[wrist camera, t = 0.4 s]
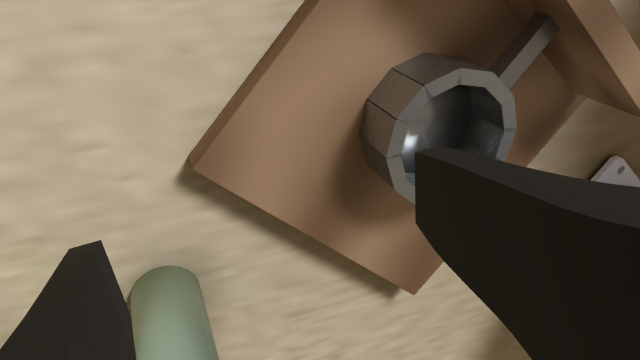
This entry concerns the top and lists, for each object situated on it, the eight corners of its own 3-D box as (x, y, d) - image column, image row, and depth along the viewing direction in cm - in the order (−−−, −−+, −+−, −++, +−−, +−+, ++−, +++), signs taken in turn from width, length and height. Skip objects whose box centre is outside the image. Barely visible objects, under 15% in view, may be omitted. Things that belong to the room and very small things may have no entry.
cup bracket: (579, 77, 26) (674, 109, 22) (402, 281, 28) (458, 349, 24) (415, -147, 18) (510, -164, 14) (187, 157, 20) (211, 223, 16)
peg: (212, 280, 23) (249, 402, 18) (175, 329, 24) (198, 462, 18) (156, 256, 22) (175, 380, 16) (116, 307, 22) (121, 447, 16)
